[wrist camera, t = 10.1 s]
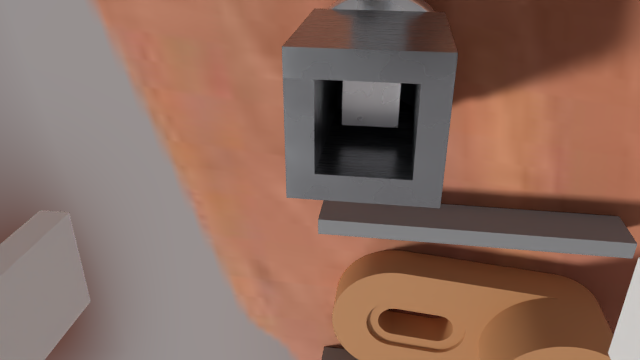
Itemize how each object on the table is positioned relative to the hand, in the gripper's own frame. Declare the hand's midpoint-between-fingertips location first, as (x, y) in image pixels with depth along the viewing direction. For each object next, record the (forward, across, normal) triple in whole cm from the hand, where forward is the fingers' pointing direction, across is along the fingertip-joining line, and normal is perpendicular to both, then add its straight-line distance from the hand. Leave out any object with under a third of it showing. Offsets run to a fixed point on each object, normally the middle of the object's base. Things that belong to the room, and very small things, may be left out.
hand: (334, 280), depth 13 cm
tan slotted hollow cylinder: (+21, +7, -18) cm, 28 cm away
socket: (+18, 0, 0) cm, 18 cm away
